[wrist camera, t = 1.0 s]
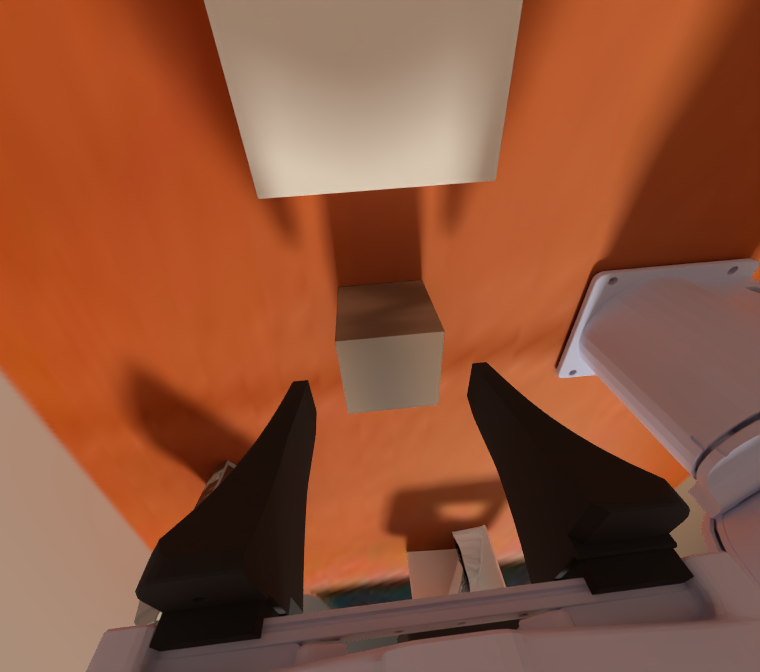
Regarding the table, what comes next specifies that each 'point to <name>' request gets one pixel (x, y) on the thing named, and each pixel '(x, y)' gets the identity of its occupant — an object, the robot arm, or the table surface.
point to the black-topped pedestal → (456, 577)
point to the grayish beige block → (388, 346)
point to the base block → (367, 90)
